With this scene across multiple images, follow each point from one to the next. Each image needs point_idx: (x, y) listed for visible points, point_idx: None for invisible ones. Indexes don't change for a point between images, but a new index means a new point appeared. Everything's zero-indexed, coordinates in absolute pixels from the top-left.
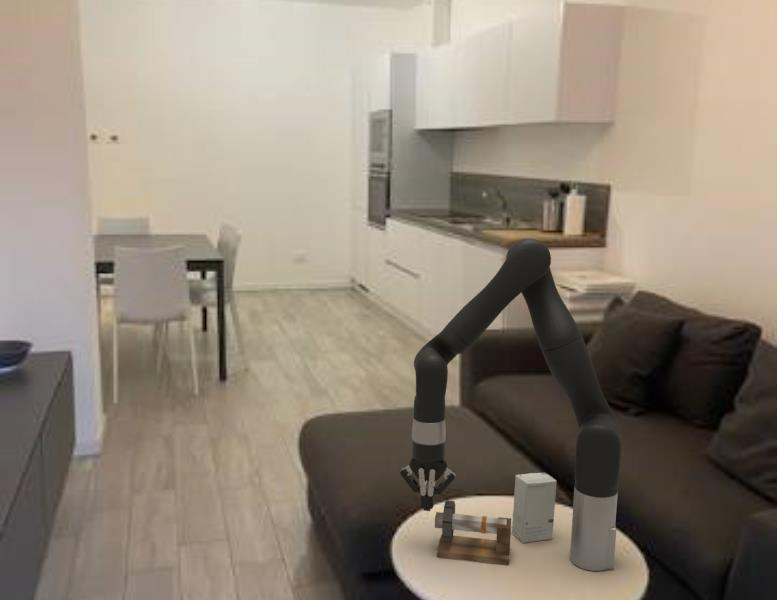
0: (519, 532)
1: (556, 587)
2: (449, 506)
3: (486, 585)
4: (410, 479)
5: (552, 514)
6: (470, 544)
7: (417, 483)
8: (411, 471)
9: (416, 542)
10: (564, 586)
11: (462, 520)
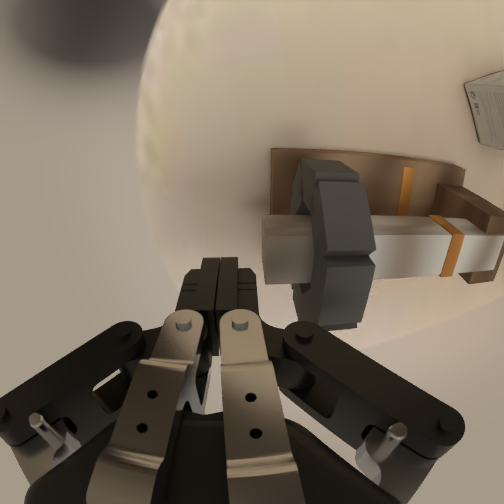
0: (489, 131)
1: (479, 295)
2: (344, 323)
3: (378, 326)
4: (96, 434)
5: None
6: (370, 201)
7: (126, 364)
8: (64, 450)
9: (192, 181)
10: (489, 288)
11: (379, 276)
